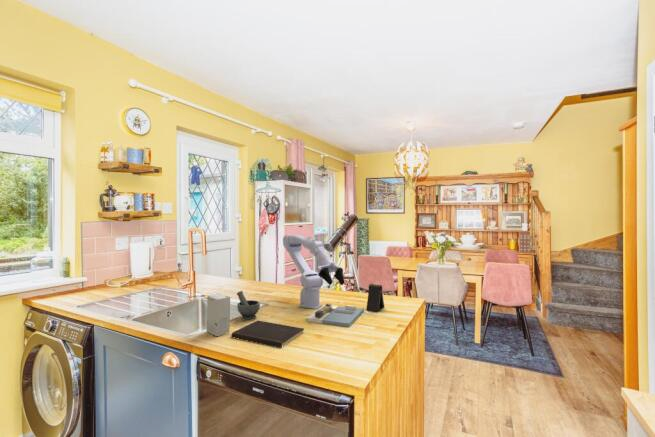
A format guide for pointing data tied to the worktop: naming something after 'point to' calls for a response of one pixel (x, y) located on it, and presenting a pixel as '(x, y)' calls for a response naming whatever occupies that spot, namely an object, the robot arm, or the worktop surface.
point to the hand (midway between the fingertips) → (337, 283)
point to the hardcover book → (268, 333)
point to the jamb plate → (320, 320)
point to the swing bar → (323, 310)
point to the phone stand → (375, 298)
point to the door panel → (343, 316)
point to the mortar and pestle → (247, 307)
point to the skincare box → (218, 314)
